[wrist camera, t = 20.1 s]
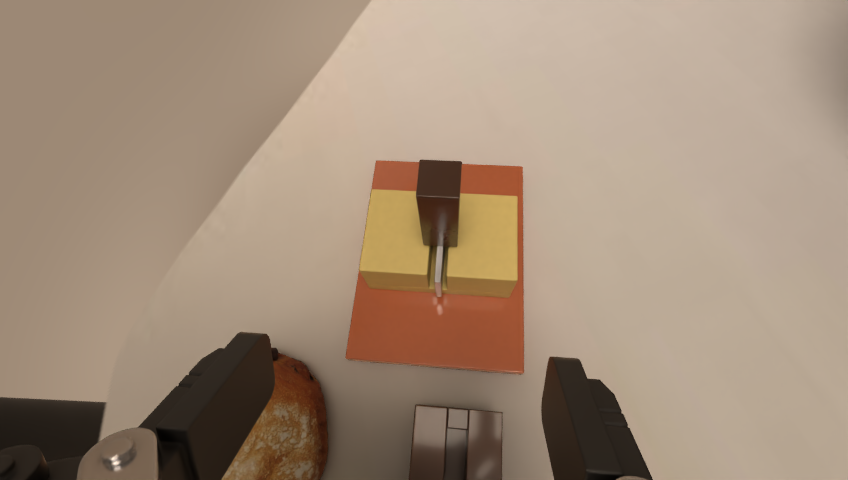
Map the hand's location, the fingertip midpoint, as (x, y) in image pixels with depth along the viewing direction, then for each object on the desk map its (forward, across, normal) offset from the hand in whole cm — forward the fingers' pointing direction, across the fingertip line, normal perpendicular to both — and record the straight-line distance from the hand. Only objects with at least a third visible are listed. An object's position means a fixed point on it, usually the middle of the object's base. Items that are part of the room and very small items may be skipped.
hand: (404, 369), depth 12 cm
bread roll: (+10, +11, +15) cm, 21 cm away
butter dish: (+19, 0, +5) cm, 20 cm away
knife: (+18, 0, +4) cm, 18 cm away
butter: (+19, 0, +5) cm, 19 cm away
